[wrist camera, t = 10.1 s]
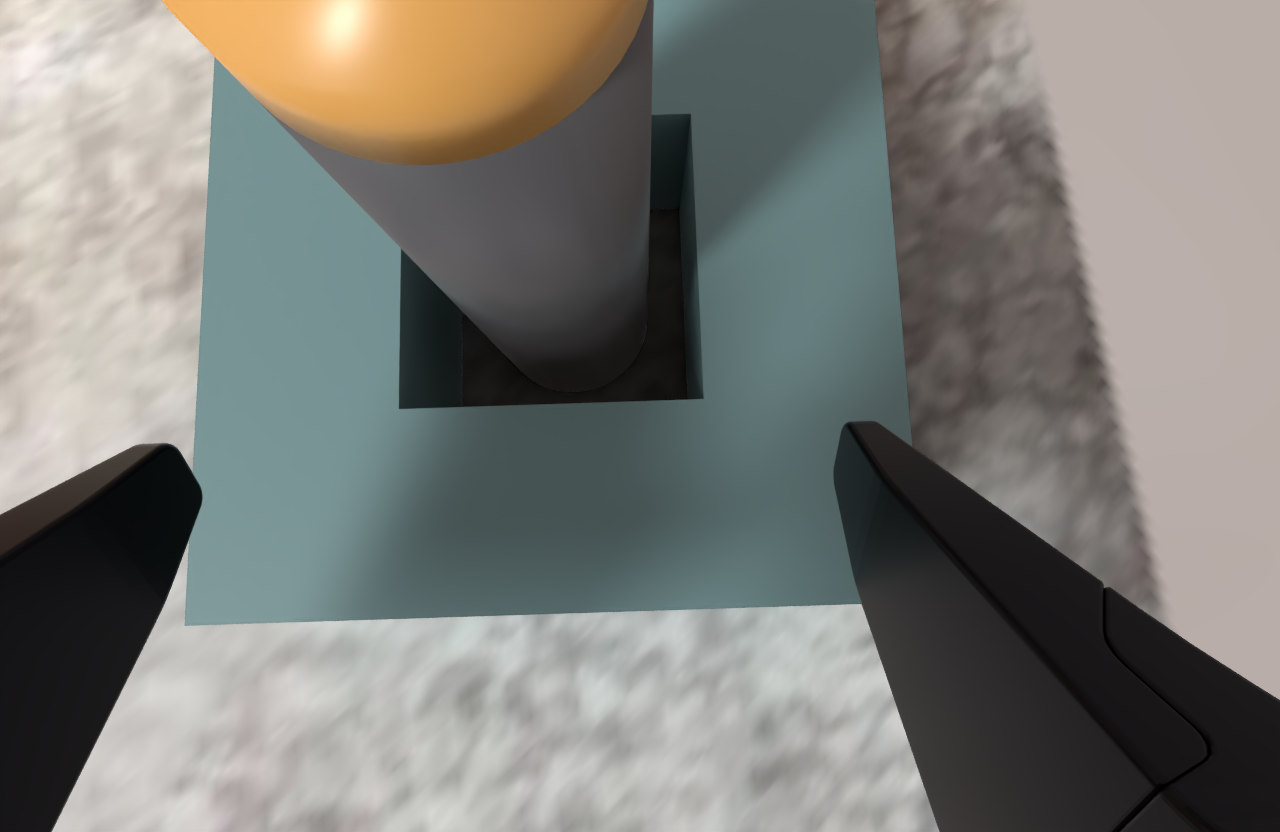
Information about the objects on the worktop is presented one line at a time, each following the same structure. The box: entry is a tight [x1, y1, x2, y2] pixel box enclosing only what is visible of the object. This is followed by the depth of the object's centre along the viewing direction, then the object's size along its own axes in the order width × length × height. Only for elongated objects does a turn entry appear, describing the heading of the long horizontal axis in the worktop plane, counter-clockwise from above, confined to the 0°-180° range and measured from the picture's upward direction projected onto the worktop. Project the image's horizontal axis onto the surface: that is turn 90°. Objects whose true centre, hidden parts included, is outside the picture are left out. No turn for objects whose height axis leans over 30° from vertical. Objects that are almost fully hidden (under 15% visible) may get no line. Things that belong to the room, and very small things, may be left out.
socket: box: [185, 0, 912, 626], centre depth 15 cm, size 14×14×4 cm
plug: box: [162, 0, 654, 392], centre depth 11 cm, size 4×4×13 cm
